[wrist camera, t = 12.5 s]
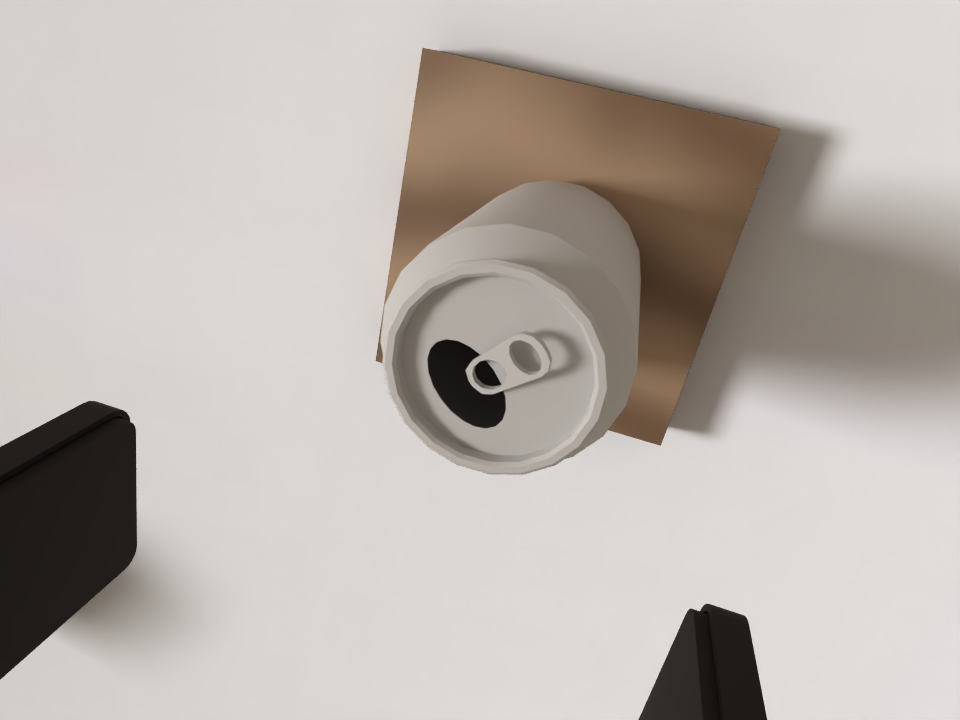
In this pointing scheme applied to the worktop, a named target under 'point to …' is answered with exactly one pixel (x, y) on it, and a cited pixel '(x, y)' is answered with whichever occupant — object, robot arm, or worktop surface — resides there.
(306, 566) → the worktop surface
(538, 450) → the can
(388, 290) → the walnut board
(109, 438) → the robot arm
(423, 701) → the worktop surface
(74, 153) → the worktop surface
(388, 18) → the worktop surface
